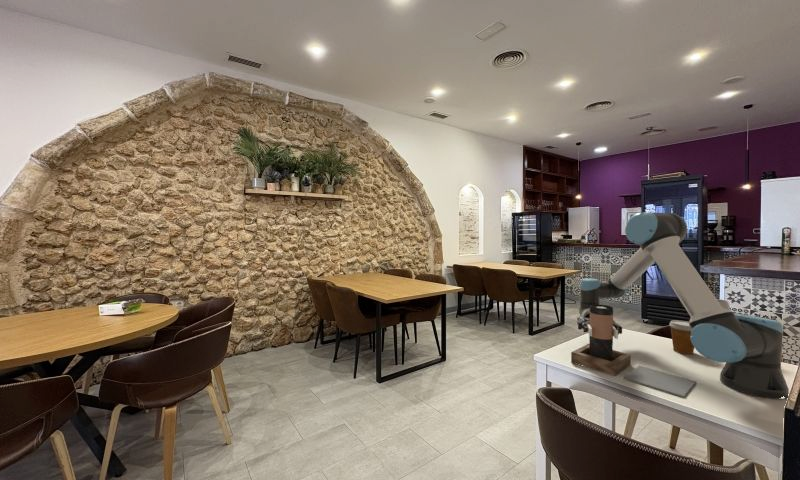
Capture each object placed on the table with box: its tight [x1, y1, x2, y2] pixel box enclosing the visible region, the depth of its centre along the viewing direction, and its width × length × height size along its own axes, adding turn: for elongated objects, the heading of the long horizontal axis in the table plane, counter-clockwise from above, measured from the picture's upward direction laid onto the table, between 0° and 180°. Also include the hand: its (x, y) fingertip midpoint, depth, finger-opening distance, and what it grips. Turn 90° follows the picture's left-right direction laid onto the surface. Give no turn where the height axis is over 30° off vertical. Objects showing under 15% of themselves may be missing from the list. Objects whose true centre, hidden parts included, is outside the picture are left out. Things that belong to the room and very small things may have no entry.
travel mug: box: [588, 303, 614, 361], centre depth 126 cm, size 8×8×20 cm
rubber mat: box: [622, 365, 697, 399], centre depth 112 cm, size 16×16×1 cm
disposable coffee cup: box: [668, 319, 695, 355], centre depth 138 cm, size 10×10×12 cm
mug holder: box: [570, 343, 632, 377], centre depth 126 cm, size 15×15×4 cm
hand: (603, 333), depth 121 cm, fingers closed on travel mug, 7 cm apart
